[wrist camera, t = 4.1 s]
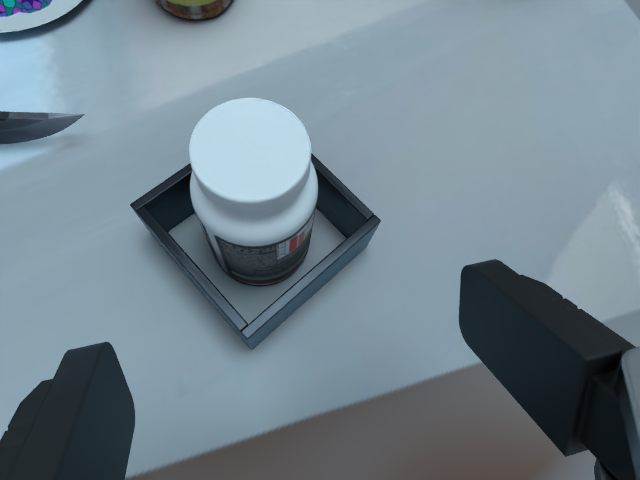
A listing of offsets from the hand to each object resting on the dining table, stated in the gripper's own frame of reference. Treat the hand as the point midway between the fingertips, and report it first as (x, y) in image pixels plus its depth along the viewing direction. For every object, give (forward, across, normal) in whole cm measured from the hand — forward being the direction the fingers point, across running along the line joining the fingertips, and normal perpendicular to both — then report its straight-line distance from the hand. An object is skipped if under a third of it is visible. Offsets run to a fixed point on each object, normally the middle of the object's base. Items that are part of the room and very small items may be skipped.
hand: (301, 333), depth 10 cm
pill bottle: (+16, 0, +5) cm, 16 cm away
